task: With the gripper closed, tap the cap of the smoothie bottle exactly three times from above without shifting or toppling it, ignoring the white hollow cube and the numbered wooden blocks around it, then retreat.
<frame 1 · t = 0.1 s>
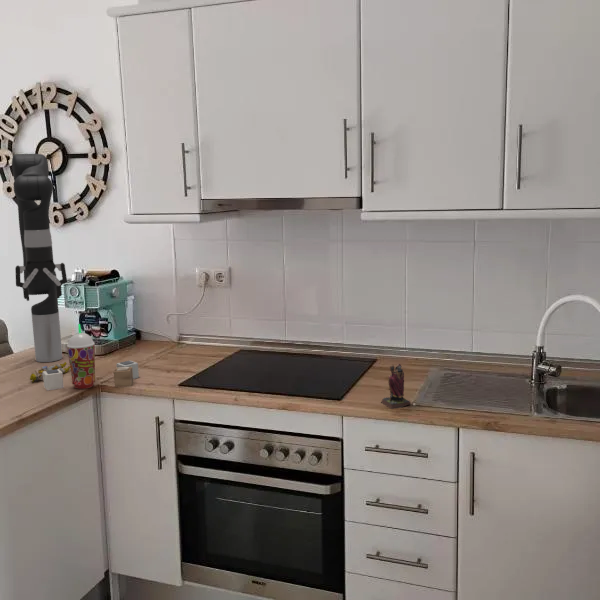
hand: (43, 299, 208), 29 cm above the worktop, fingers open, 8 cm apart
white hollow cube: (53, 387, 220), on the worktop
toy: (50, 378, 232), on the worktop
figurine: (395, 405, 196), on the worktop
block grey numbered: (128, 378, 229), on the worktop
smoothie: (84, 386, 220), on the worktop
block walnut numbered: (124, 384, 222), on the worktop
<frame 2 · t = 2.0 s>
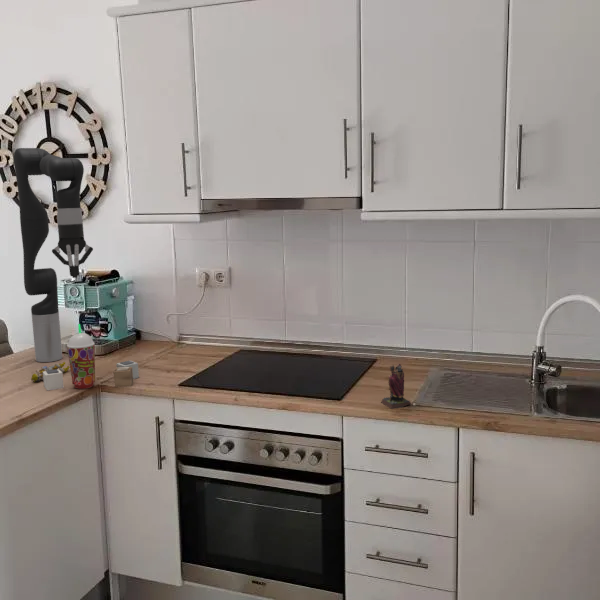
hand: (74, 277, 222), 34 cm above the worktop, fingers closed
nothing on the worktop moved.
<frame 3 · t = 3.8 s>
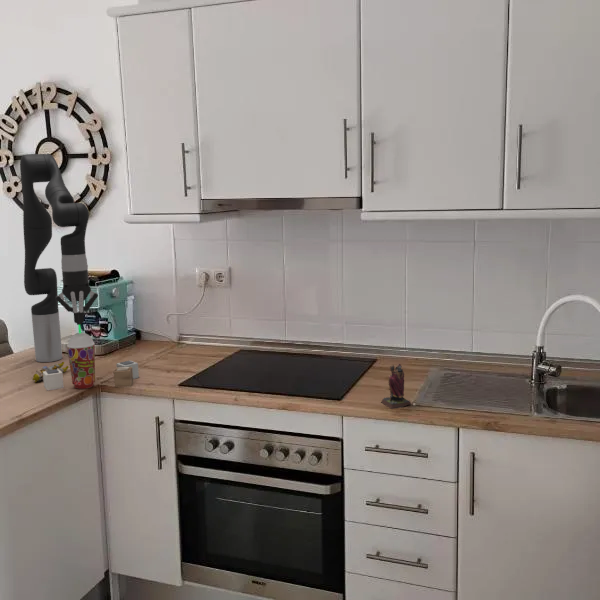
hand: (79, 324, 217), 20 cm above the worktop, fingers closed
smoothie: (84, 386, 220), on the worktop, touching gripper
everything else where it was.
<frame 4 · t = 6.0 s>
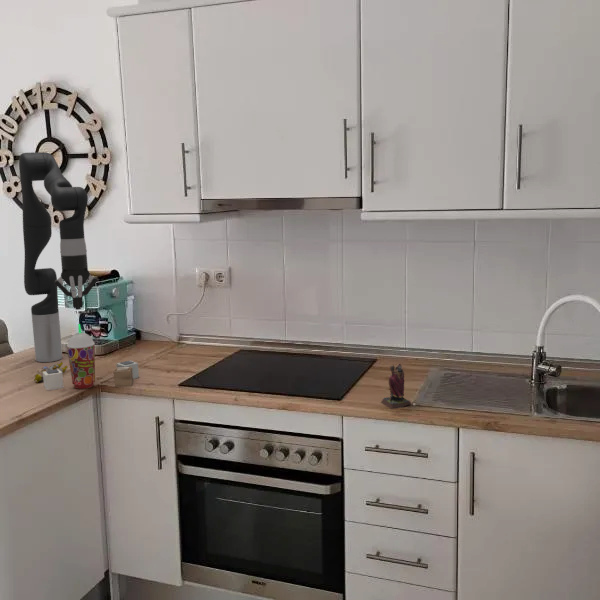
hand: (78, 309, 216), 25 cm above the worktop, fingers closed
smoothie: (84, 386, 220), on the worktop
everything else where it was.
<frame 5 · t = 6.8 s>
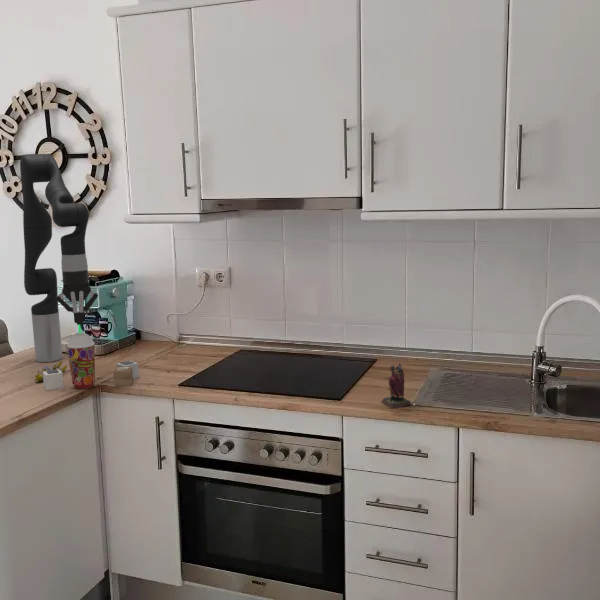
hand: (79, 324, 217), 20 cm above the worktop, fingers closed
smoothie: (84, 386, 220), on the worktop, touching gripper
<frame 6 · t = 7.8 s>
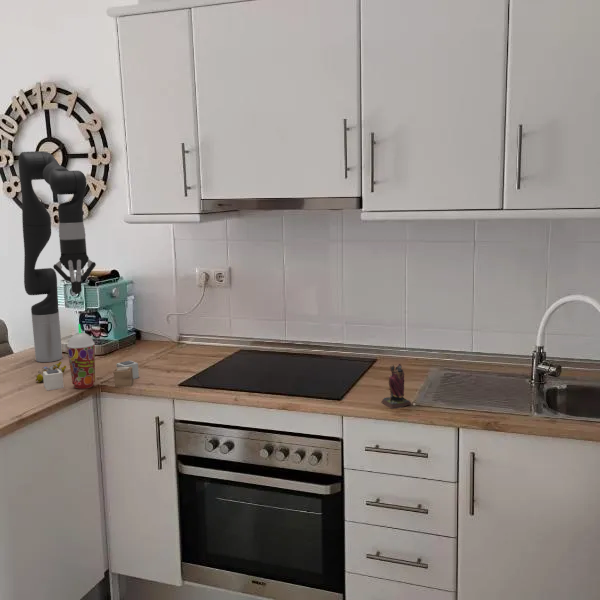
hand: (76, 293, 215), 30 cm above the worktop, fingers closed
smoothie: (84, 386, 220), on the worktop
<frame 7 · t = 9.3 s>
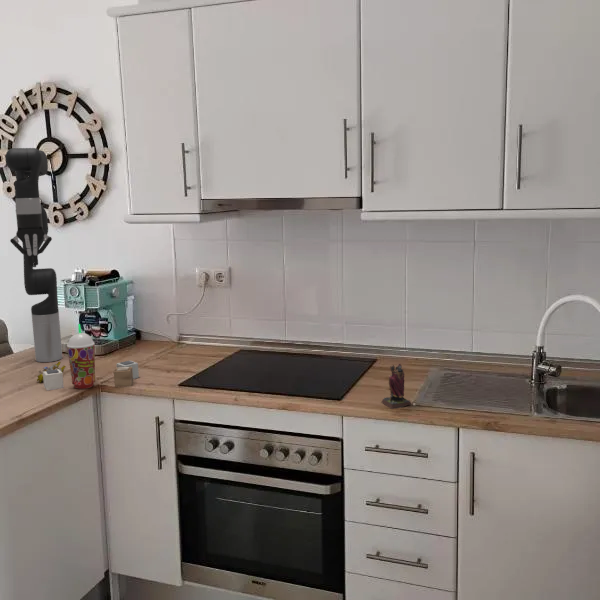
hand: (33, 266, 224), 37 cm above the worktop, fingers closed
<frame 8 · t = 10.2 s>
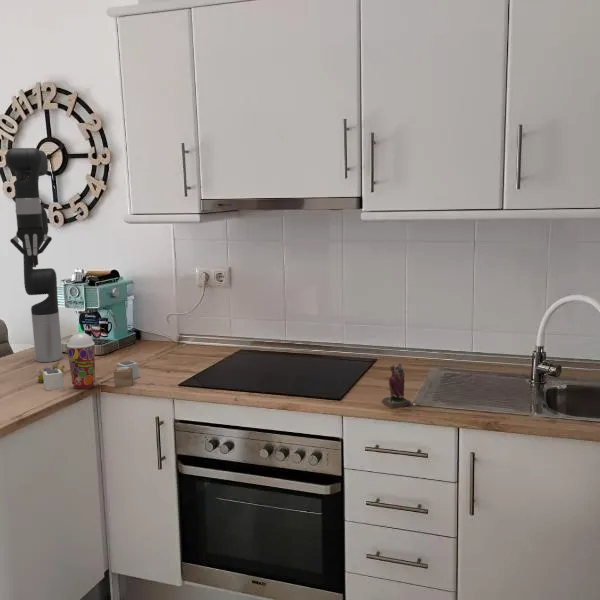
hand: (33, 266, 224), 37 cm above the worktop, fingers closed
at the end: smoothie moved 0.2 cm from its start; smoothie tilted 0°; block walnut numbered moved 0.1 cm from its start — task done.
